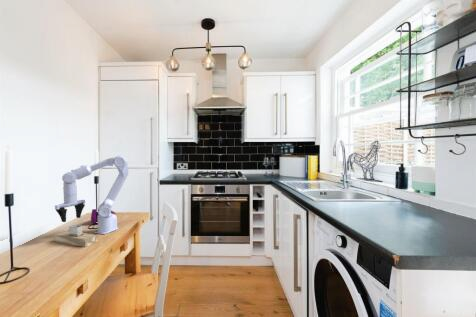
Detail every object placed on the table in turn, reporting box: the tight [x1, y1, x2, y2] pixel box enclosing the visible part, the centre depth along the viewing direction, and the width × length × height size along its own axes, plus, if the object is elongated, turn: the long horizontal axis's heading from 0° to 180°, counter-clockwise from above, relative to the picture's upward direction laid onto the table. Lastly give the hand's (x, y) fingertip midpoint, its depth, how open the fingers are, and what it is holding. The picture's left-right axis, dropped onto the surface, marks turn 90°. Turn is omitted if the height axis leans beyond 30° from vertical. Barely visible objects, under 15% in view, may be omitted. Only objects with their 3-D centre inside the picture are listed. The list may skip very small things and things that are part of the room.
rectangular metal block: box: [68, 224, 83, 237], centre depth 118 cm, size 2×6×8 cm, turn 70°
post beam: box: [54, 230, 99, 248], centre depth 118 cm, size 6×22×4 cm, turn 69°
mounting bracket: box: [90, 208, 116, 225], centre depth 155 cm, size 9×8×18 cm
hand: (71, 219), depth 125 cm, fingers open, 7 cm apart
